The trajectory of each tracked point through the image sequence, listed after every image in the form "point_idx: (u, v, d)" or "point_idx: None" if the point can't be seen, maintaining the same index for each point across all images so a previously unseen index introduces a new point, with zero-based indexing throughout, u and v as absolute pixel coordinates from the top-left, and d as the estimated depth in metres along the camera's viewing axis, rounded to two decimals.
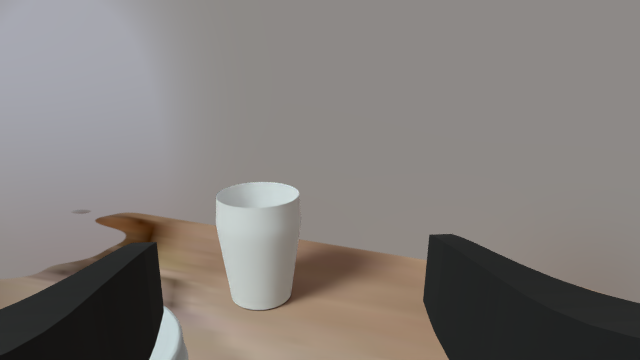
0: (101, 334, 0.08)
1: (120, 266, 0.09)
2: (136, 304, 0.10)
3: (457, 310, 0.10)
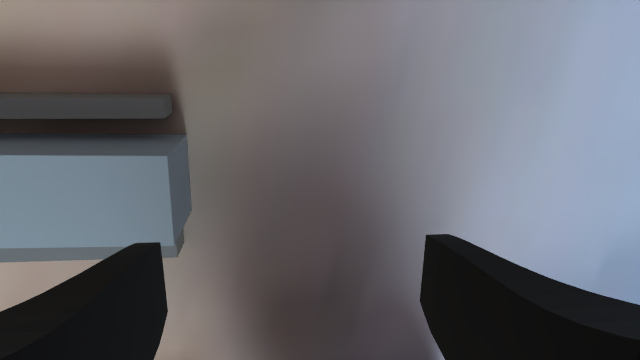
0: (106, 334, 0.08)
1: (125, 266, 0.09)
2: (140, 304, 0.10)
3: (453, 310, 0.10)
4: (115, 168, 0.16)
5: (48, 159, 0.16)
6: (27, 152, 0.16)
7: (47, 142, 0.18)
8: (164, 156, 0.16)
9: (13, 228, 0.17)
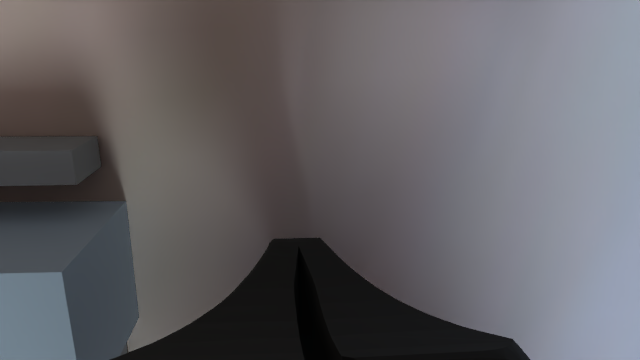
0: None
1: (292, 260, 0.09)
2: (297, 298, 0.10)
3: (304, 317, 0.10)
4: None
5: None
6: None
7: None
8: (57, 272, 0.08)
9: None
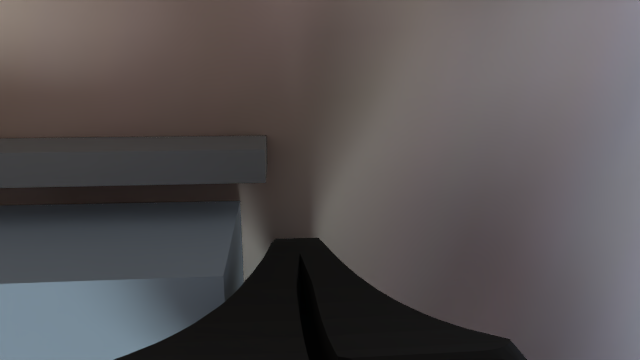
0: None
1: (294, 260, 0.09)
2: (299, 298, 0.10)
3: (302, 317, 0.10)
4: (123, 302, 0.08)
5: None
6: None
7: None
8: (219, 277, 0.08)
9: None
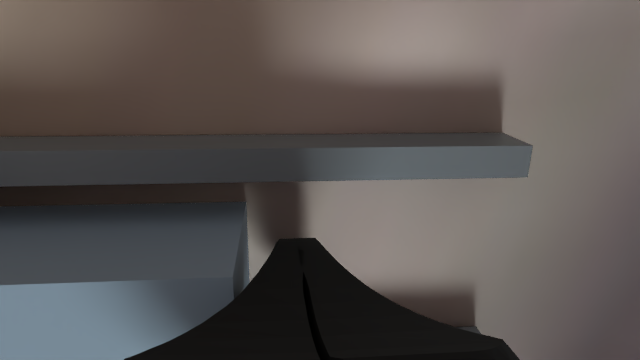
0: None
1: (299, 260, 0.09)
2: None
3: None
4: (133, 302, 0.08)
5: (0, 291, 0.08)
6: None
7: (7, 238, 0.10)
8: (228, 277, 0.08)
9: None
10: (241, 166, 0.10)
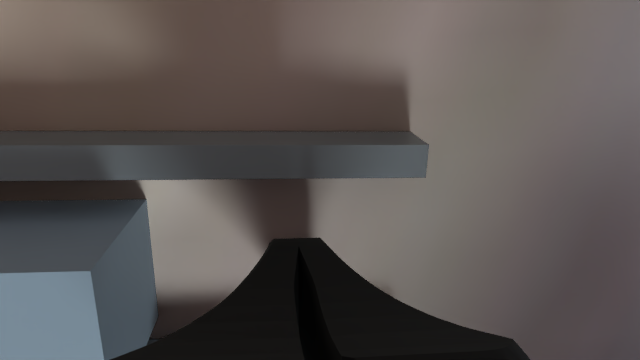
0: None
1: (292, 260, 0.09)
2: (297, 298, 0.10)
3: (304, 317, 0.10)
4: None
5: None
6: None
7: None
8: (86, 271, 0.08)
9: None
10: (122, 163, 0.10)
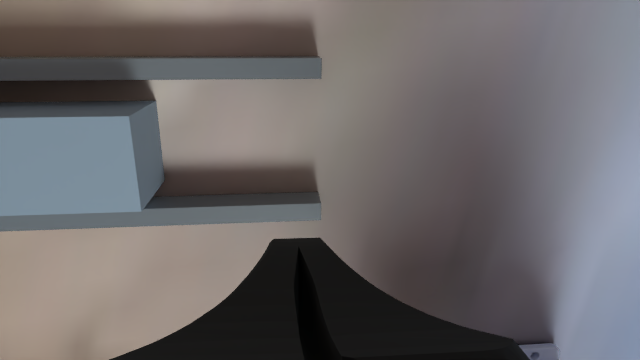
0: None
1: (292, 261, 0.09)
2: (297, 298, 0.10)
3: (304, 316, 0.10)
4: (76, 130, 0.16)
5: (5, 121, 0.15)
6: None
7: (8, 108, 0.17)
8: (126, 116, 0.16)
9: None
10: (142, 69, 0.17)
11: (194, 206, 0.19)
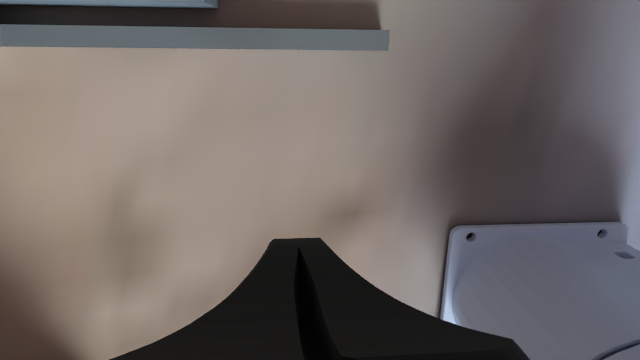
0: None
1: (292, 260, 0.09)
2: (297, 298, 0.10)
3: (304, 317, 0.10)
4: None
5: None
6: None
7: None
8: None
9: None
10: None
11: (253, 28, 0.18)
